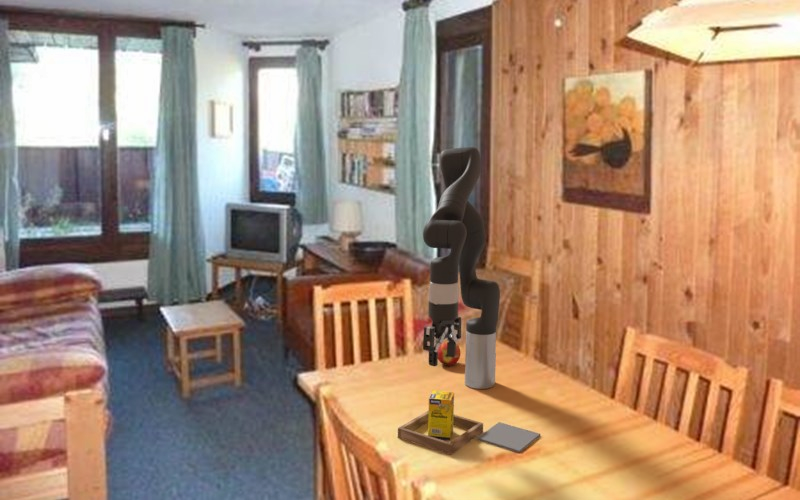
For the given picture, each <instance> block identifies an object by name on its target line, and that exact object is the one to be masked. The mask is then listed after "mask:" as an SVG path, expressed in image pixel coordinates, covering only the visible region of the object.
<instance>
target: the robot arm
mask: <svg viewBox="0 0 800 500" xmlns="http://www.w3.org/2000/svg"><path fill="white" fill-rule="evenodd" d="M439 156H440V158H439V159H440V161H439V163H440V171H441V176H442V180H443V184H444V188H445V190H444V191H443V193H442V194H441V196H440V198H439V202H438V205H437V208H436V210H435V211H434V213H433V214H432V215H431V216H430V218H429V219H428V220H427V222H426V224H424V228H423V232H422V238H423V243H425V245H426V246H427V247H428V248H430V249H431V248H432V249H446V250H447V249H450V252H449V254H448V255H444V256H438V257H435V258H433V259H431V260H430V262H429V263H430V265H429V266H430V267H429V287H428V306H427V307H428V310H427V311H428V312H427V313H428V315H427V316H428V318H430V319H431V321H432V322H431V325H430V326H428V325H426V326H424V328H423V340H422V341H423V342H422V350H424V351H427V352H428V365H429V366H432V367H436V366H438V364H439V363H438V362H439V360H438V352H437V351H438V348H439V346H440V345H441V344H442V343H444V340H445V339H446V342H447V341H449V342H447V356H448V357H455V356H456V344H457V343H458V340H461V338H462V317H461V316H459V299H460V298H459V296H460V295H461V296H460V297H461V300H462V302H463V303H462V304H463V305H465V306H466V307H467V308H470V309H476V310H480V311H481V314H480V316H479V317H475V318H471V319H469V320H467V322H466V325H465V326H466V327H465V331H466V332H465V357H464V358H465V361H464V362H465V363H464V364H465V365H464V385H466V387H468V388H471V389H477V390H479V389H480V390H484V389H490V388H492V387H494V386H495V382H496V366H497V365H496V362H497V353H496V347H497V346H496V345H497V343H496V342H497V325H498V322H499V312H500V311H499V310H500V300H501V291H500V290H501V289H500V286H499V284H498V283H497V281H493V280H488V279H482V278H478V277H477V272H476V271H477V270H476V266H477V262H478V260H479V258H480V255H481V254H482V252H483V251H484V248H485V246H486V240H487V239H486V238H487V237H486V230H485V223H484V220H483V216H482V215H481V214H480V212H479V211H478V210H477V209H476V207H474V206H473V204H472V203H471V202H470V201H469V198H470V195H471V194H472V192H473V190H474V188H475V187H476V184H477V182H478V180H479V178H480V175H481V173H482V157H481V154H480V151H479V150H478V148H476V147H474V146H466V147H465V146H464V147H456V148H445V149H443V150H442V151H441V153H440V155H439ZM459 284H460V285H459ZM459 286H460V290H459ZM459 291H460V295H459ZM456 331H457V332H456Z"/></svg>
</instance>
